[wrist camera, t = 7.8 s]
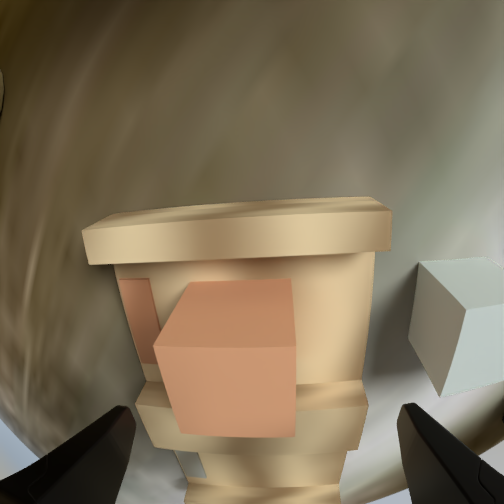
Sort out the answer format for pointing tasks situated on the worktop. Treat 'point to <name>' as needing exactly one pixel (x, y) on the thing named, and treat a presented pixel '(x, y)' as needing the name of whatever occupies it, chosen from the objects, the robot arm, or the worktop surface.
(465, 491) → the robot arm
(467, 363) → the blue-grey block
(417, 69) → the worktop surface
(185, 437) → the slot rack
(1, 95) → the squeeze bottle
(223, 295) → the terracotta block
